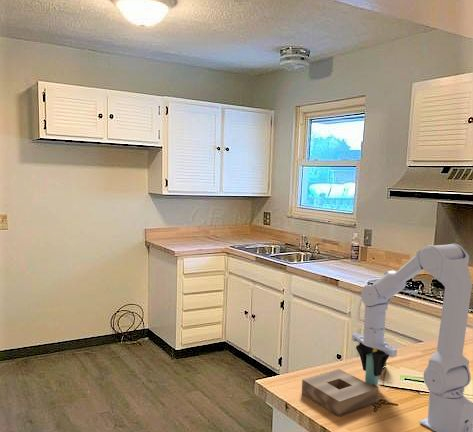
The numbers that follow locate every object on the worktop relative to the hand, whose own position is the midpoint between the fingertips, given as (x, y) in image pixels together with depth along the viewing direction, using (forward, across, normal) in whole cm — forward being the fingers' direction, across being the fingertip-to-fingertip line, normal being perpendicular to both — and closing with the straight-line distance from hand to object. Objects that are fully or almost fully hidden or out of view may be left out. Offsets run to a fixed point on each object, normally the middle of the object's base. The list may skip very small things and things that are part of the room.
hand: (371, 372), depth 131 cm
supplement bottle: (+4, +8, -12) cm, 15 cm away
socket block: (+4, -1, +14) cm, 15 cm away
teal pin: (+3, 0, 0) cm, 3 cm away
